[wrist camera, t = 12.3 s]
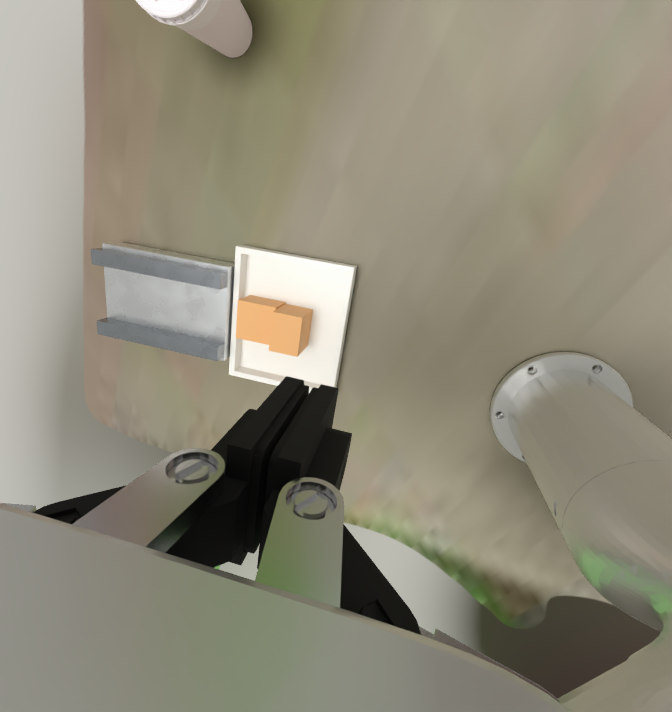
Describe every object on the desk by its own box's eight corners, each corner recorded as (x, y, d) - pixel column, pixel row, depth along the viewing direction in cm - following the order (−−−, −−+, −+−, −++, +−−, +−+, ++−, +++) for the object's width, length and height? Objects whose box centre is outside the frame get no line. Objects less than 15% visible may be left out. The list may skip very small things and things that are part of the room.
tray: (357, 265, 36) (354, 267, 34) (336, 390, 41) (332, 398, 39) (244, 245, 38) (235, 246, 36) (237, 368, 43) (228, 374, 41)
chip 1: (285, 302, 38) (275, 307, 36) (282, 337, 40) (272, 345, 37) (250, 294, 39) (237, 299, 36) (247, 330, 40) (235, 337, 38)
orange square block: (285, 303, 38) (313, 309, 38) (282, 339, 40) (308, 345, 39) (272, 311, 35) (302, 317, 34) (268, 350, 36) (297, 356, 36)
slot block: (241, 264, 39) (220, 268, 34) (236, 352, 42) (216, 365, 38) (123, 242, 40) (90, 243, 36) (128, 327, 44) (98, 338, 40)
